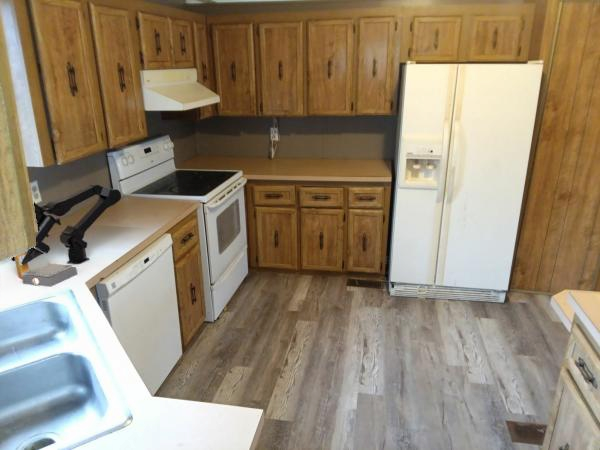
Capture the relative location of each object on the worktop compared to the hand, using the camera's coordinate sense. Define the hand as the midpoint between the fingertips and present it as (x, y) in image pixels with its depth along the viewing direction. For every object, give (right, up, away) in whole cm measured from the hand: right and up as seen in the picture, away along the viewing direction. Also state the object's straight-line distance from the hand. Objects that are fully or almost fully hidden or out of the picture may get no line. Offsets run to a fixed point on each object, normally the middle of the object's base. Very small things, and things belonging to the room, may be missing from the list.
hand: (17, 262), depth 172 cm
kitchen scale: (+13, -6, 0) cm, 14 cm away
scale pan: (+13, -3, 0) cm, 13 cm away
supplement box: (+1, -6, +3) cm, 7 cm away
